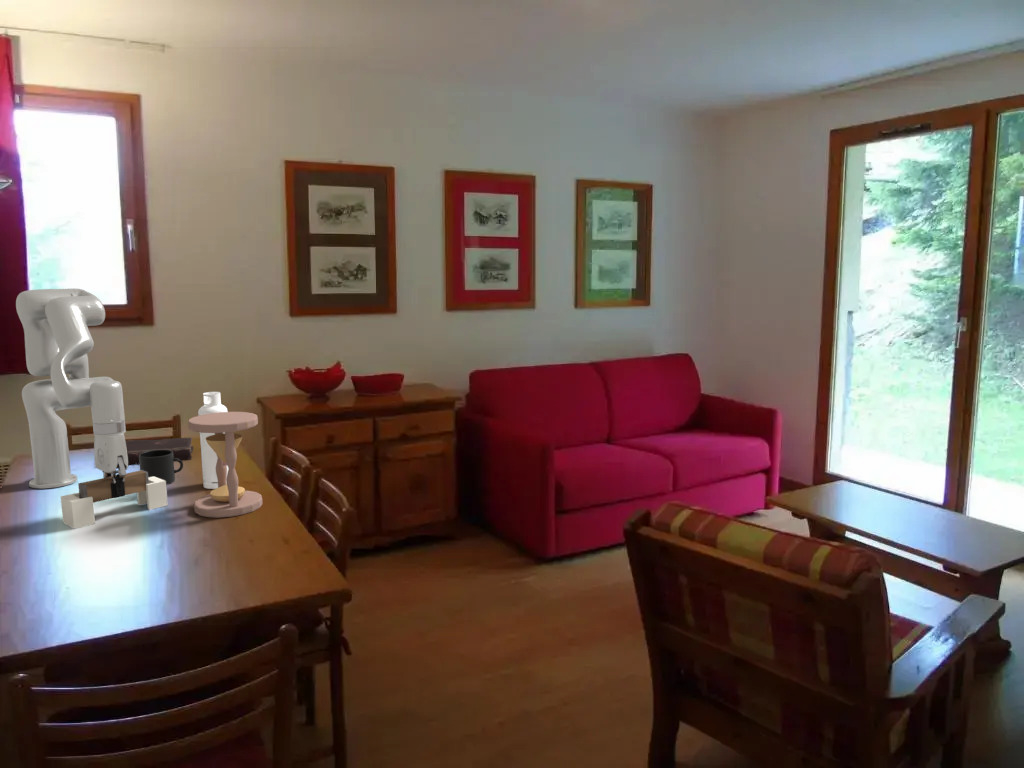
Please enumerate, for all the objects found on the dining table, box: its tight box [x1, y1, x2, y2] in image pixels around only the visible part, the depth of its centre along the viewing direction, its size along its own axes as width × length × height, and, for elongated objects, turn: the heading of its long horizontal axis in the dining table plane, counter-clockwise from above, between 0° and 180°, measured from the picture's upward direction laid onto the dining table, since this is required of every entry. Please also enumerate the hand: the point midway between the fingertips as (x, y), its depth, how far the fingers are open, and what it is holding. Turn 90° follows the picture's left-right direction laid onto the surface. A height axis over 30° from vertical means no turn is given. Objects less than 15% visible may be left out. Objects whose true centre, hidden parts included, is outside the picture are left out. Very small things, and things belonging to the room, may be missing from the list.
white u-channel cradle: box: [60, 476, 169, 529], centre depth 204 cm, size 7×24×7 cm, turn 140°
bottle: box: [197, 391, 229, 490], centre depth 229 cm, size 8×8×28 cm
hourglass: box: [187, 411, 263, 519], centre depth 208 cm, size 18×18×25 cm
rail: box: [77, 469, 149, 504], centre depth 204 cm, size 3×16×5 cm, turn 140°
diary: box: [125, 436, 194, 466], centre depth 263 cm, size 19×25×5 cm
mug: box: [139, 450, 184, 486], centre depth 233 cm, size 9×12×9 cm
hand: (115, 494), depth 204 cm, fingers closed on rail, 3 cm apart
